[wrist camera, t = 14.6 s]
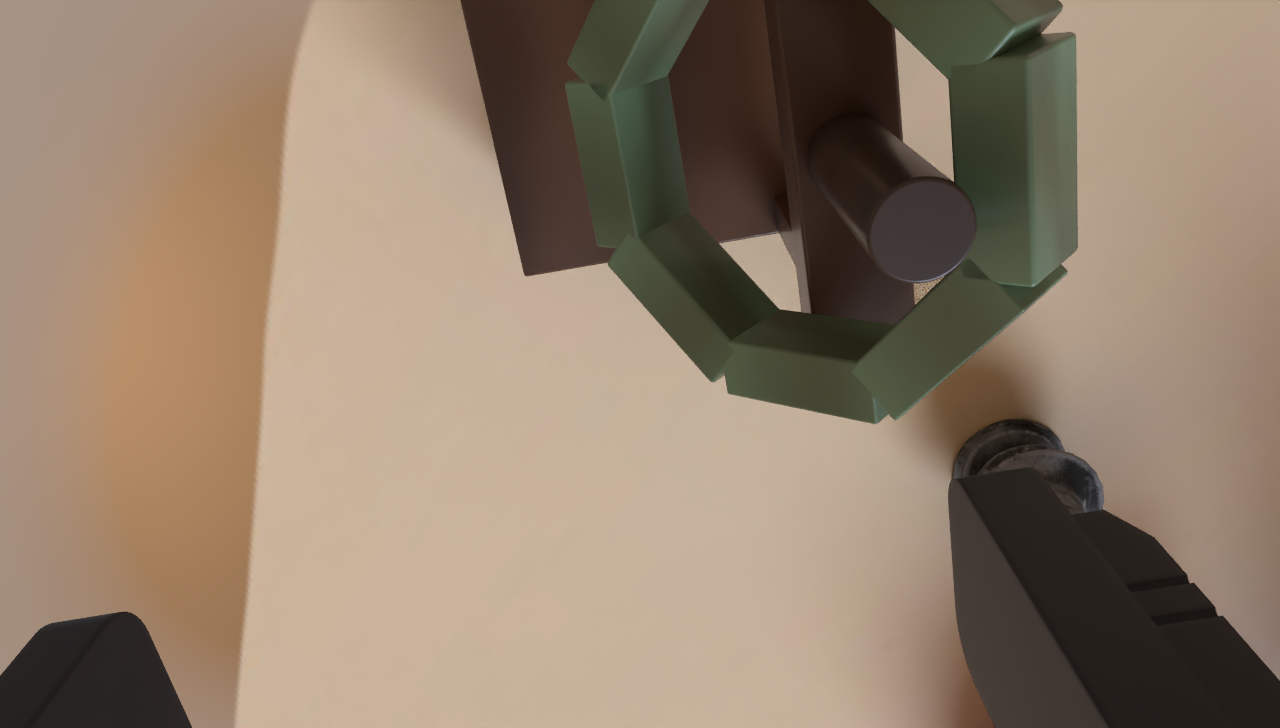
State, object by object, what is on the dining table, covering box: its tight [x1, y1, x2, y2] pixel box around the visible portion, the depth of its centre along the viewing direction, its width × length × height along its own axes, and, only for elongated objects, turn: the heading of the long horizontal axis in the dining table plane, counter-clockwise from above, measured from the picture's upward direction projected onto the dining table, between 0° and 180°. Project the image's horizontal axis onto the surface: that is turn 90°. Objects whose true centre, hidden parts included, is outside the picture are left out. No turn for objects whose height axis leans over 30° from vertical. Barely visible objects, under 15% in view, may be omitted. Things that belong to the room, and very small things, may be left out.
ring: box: [565, 0, 1078, 424], centre depth 21 cm, size 11×11×2 cm
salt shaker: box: [953, 420, 1104, 515], centre depth 42 cm, size 6×6×12 cm
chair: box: [460, 0, 977, 325], centre depth 29 cm, size 11×10×26 cm
